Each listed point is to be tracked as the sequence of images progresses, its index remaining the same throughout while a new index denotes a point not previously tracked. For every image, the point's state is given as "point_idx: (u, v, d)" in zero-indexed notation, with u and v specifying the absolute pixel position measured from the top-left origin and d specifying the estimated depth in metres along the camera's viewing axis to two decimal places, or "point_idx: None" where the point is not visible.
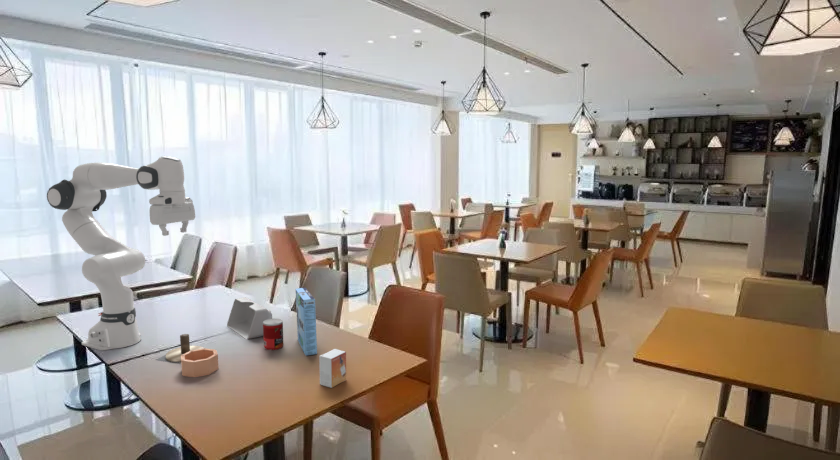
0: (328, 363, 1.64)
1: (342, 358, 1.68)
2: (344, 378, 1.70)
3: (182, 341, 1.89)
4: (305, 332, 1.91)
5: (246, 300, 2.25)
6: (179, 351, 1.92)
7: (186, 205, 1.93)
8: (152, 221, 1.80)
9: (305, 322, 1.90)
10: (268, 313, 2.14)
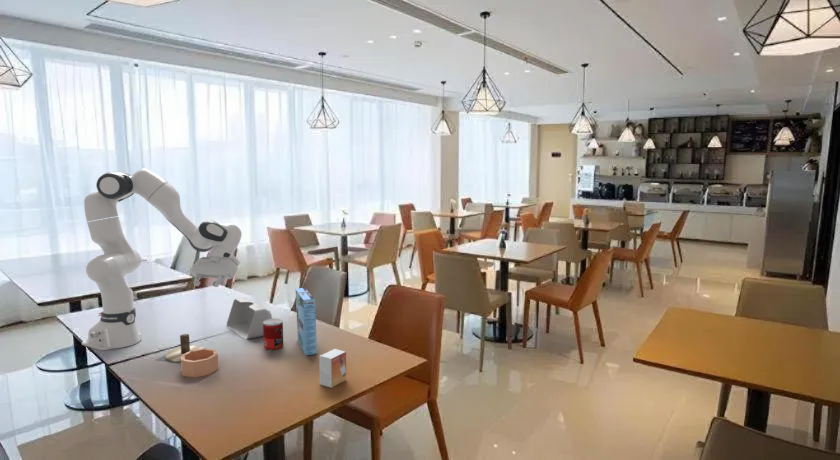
0: (328, 363, 1.64)
1: (342, 358, 1.68)
2: (344, 378, 1.70)
3: (182, 341, 1.89)
4: (305, 332, 1.91)
5: (245, 300, 2.25)
6: (179, 351, 1.92)
7: None
8: (231, 273, 2.00)
9: (305, 322, 1.90)
10: (267, 313, 2.14)
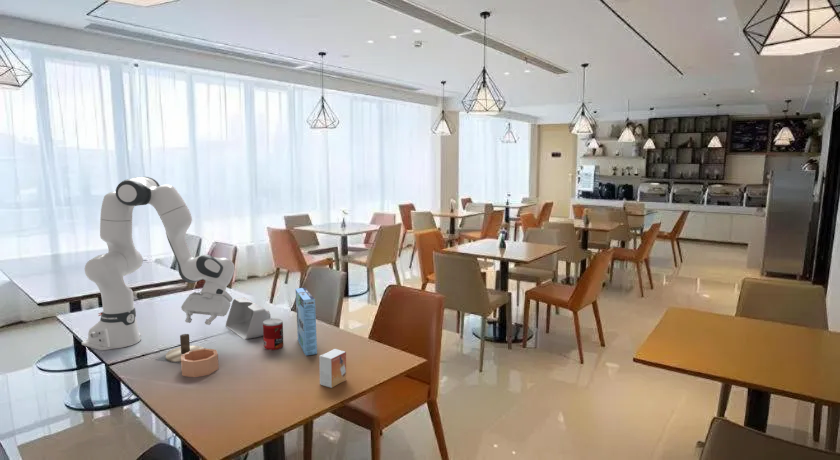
0: (328, 363, 1.64)
1: (342, 358, 1.68)
2: (344, 378, 1.70)
3: (182, 341, 1.89)
4: (305, 332, 1.91)
5: (245, 300, 2.24)
6: (179, 351, 1.92)
7: None
8: (224, 311, 1.97)
9: (305, 322, 1.90)
10: (266, 313, 2.14)
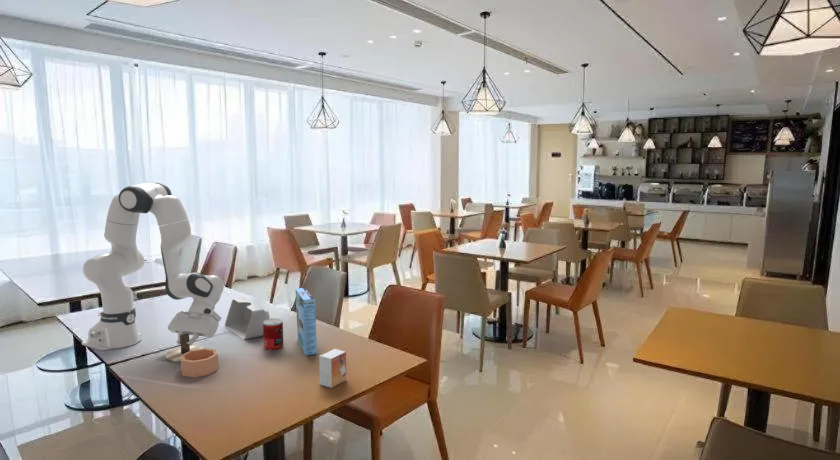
0: (328, 363, 1.64)
1: (342, 358, 1.68)
2: (344, 378, 1.70)
3: (182, 341, 1.89)
4: (305, 332, 1.91)
5: (244, 300, 2.24)
6: (179, 351, 1.92)
7: None
8: (211, 332, 1.90)
9: (305, 322, 1.90)
10: (265, 313, 2.13)
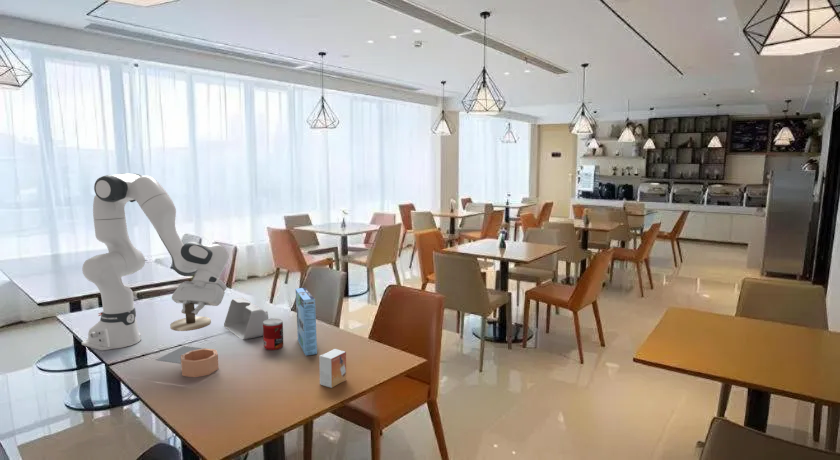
0: (328, 363, 1.64)
1: (342, 358, 1.68)
2: (344, 378, 1.70)
3: (187, 310, 1.82)
4: (305, 332, 1.91)
5: (243, 300, 2.24)
6: (184, 321, 1.85)
7: None
8: (217, 300, 1.83)
9: (305, 322, 1.90)
10: (264, 314, 2.13)
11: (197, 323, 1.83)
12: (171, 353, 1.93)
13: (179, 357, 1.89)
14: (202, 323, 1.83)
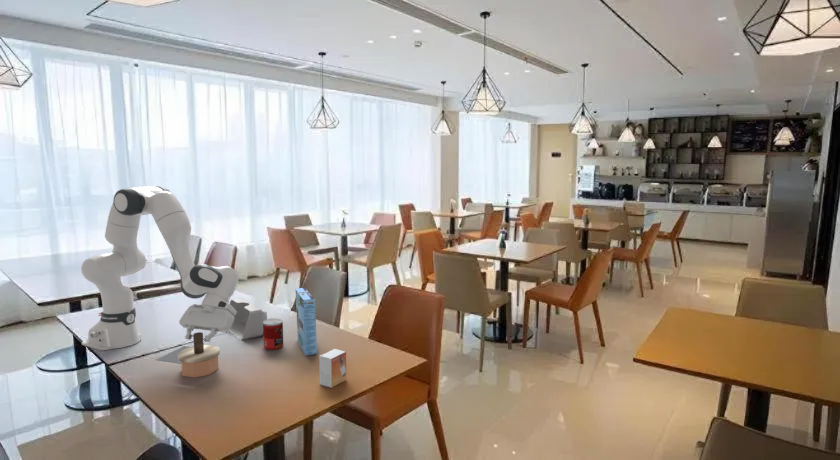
0: (328, 363, 1.64)
1: (342, 358, 1.68)
2: (344, 378, 1.70)
3: (195, 340, 1.75)
4: (305, 332, 1.91)
5: (242, 301, 2.24)
6: (192, 351, 1.78)
7: None
8: (227, 326, 1.76)
9: (305, 322, 1.90)
10: (263, 314, 2.13)
11: (206, 353, 1.76)
12: (171, 353, 1.93)
13: None
14: (211, 354, 1.75)
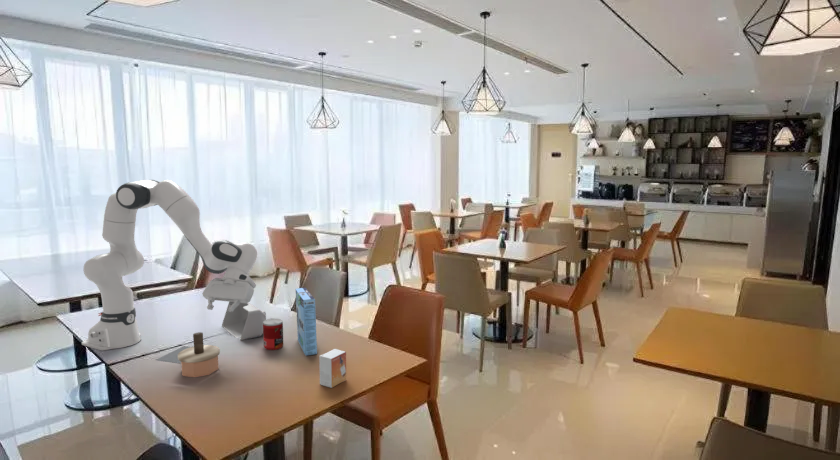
0: (328, 363, 1.64)
1: (342, 358, 1.68)
2: (344, 378, 1.70)
3: (195, 340, 1.75)
4: (305, 332, 1.91)
5: None
6: (192, 351, 1.78)
7: None
8: (247, 297, 1.87)
9: (305, 322, 1.90)
10: (262, 314, 2.12)
11: (206, 353, 1.76)
12: (171, 353, 1.93)
13: None
14: (211, 354, 1.75)
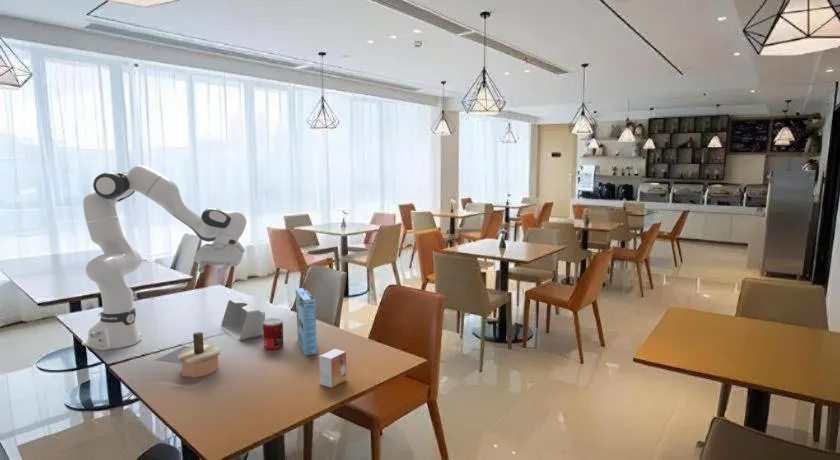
0: (328, 363, 1.64)
1: (342, 358, 1.68)
2: (344, 378, 1.70)
3: (195, 340, 1.75)
4: (305, 332, 1.91)
5: (240, 301, 2.23)
6: (192, 351, 1.78)
7: None
8: (236, 261, 1.97)
9: (305, 322, 1.90)
10: (260, 314, 2.12)
11: (206, 353, 1.76)
12: (171, 353, 1.93)
13: None
14: (211, 354, 1.75)
